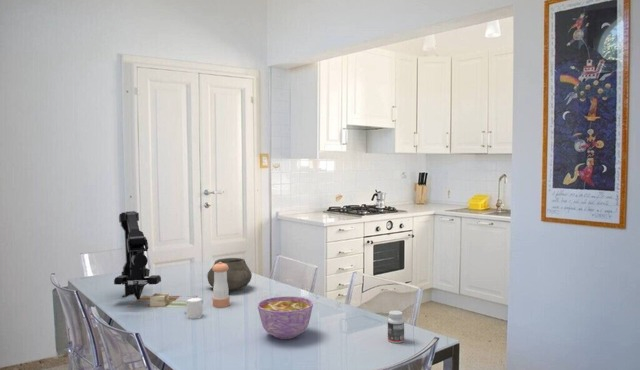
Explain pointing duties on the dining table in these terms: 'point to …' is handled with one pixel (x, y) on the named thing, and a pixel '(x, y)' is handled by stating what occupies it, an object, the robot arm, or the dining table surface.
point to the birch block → (159, 299)
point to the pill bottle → (395, 327)
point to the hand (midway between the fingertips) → (138, 299)
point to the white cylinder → (194, 307)
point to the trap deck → (171, 304)
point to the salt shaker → (220, 286)
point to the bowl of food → (285, 315)
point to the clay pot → (233, 273)
